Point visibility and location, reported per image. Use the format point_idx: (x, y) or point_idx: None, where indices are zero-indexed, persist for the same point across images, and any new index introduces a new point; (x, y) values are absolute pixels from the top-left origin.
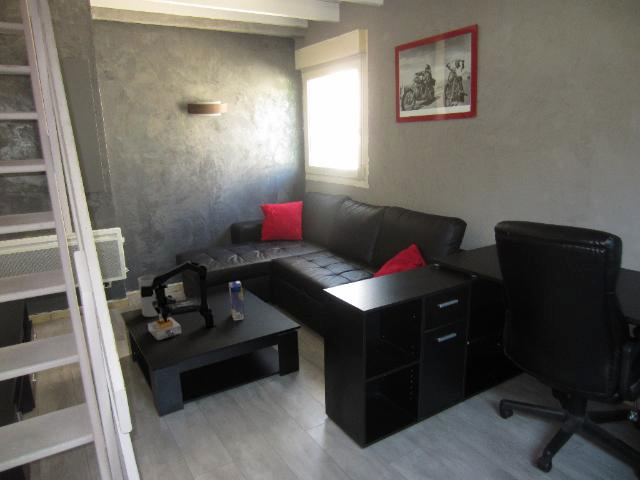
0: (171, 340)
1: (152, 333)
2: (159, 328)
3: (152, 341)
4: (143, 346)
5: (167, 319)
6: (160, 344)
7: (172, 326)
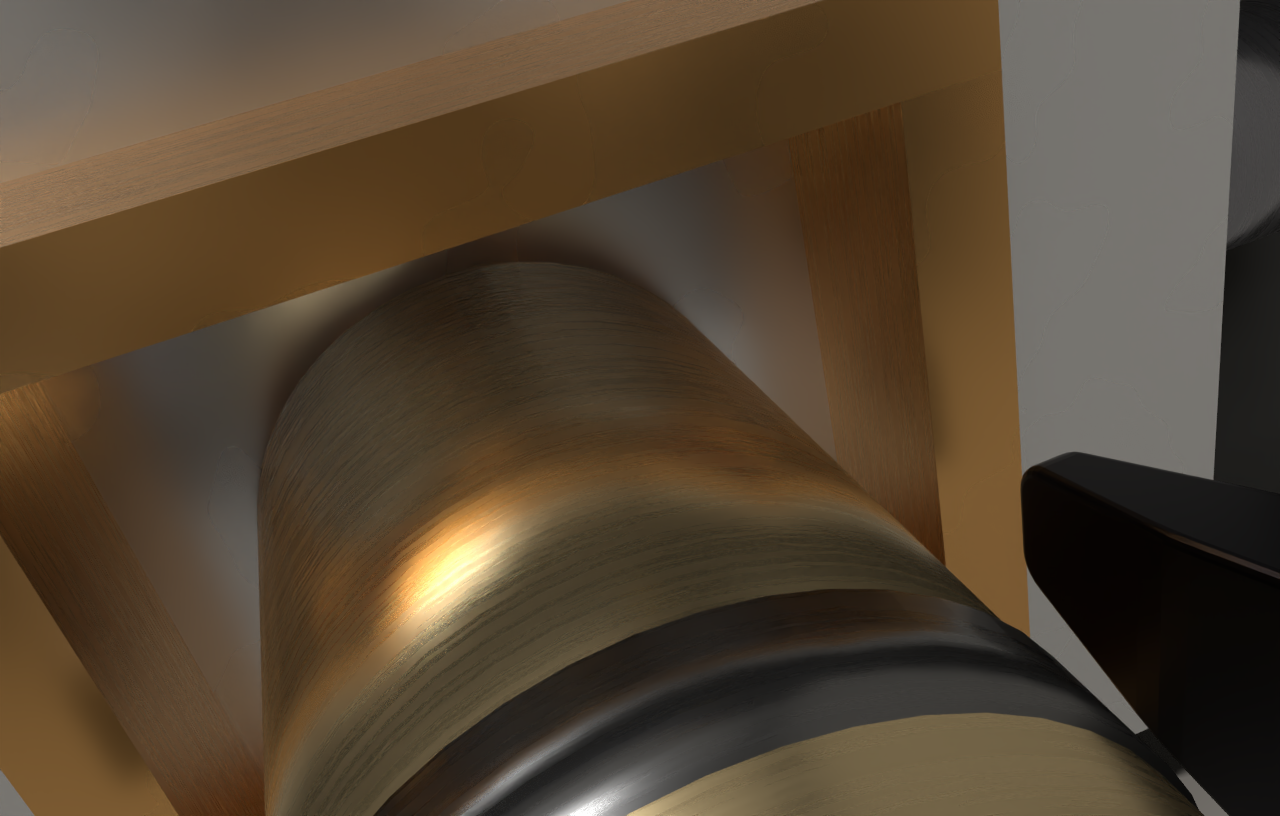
0: None
1: None
2: None
3: None
4: None
5: (736, 416)
6: (1266, 434)
7: (1096, 18)
